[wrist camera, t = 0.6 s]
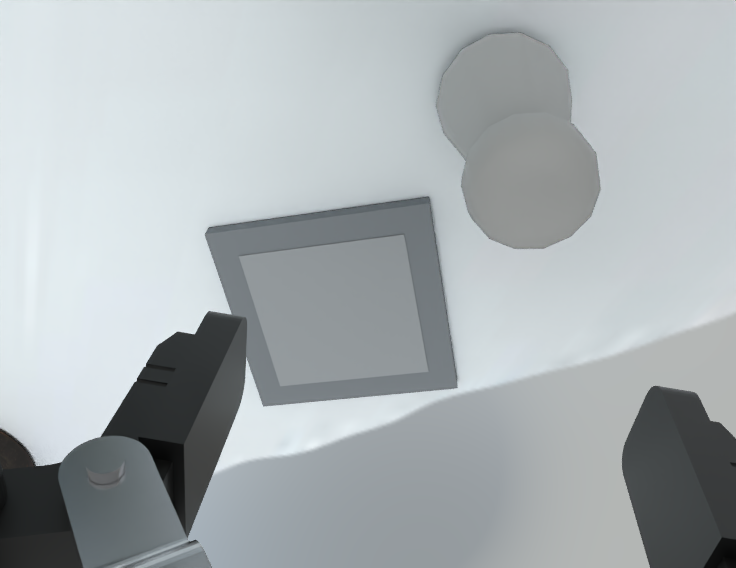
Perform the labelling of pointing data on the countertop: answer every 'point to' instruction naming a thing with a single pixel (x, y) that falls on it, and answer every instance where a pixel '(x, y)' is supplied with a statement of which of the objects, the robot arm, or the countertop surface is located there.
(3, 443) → the container
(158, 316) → the countertop surface
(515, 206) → the grey rounded lobed piece
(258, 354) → the coaster
